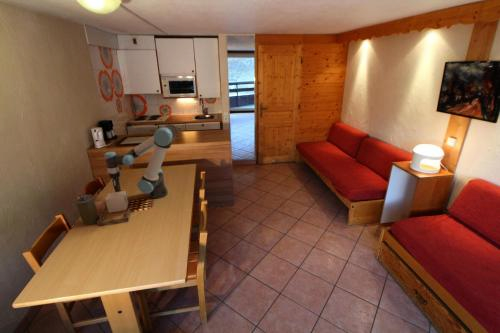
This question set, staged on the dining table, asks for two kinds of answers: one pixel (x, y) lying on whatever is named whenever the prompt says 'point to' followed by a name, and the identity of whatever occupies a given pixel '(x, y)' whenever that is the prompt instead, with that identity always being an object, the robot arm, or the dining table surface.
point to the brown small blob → (100, 206)
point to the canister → (87, 209)
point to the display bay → (113, 221)
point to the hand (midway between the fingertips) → (120, 199)
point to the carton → (116, 201)
